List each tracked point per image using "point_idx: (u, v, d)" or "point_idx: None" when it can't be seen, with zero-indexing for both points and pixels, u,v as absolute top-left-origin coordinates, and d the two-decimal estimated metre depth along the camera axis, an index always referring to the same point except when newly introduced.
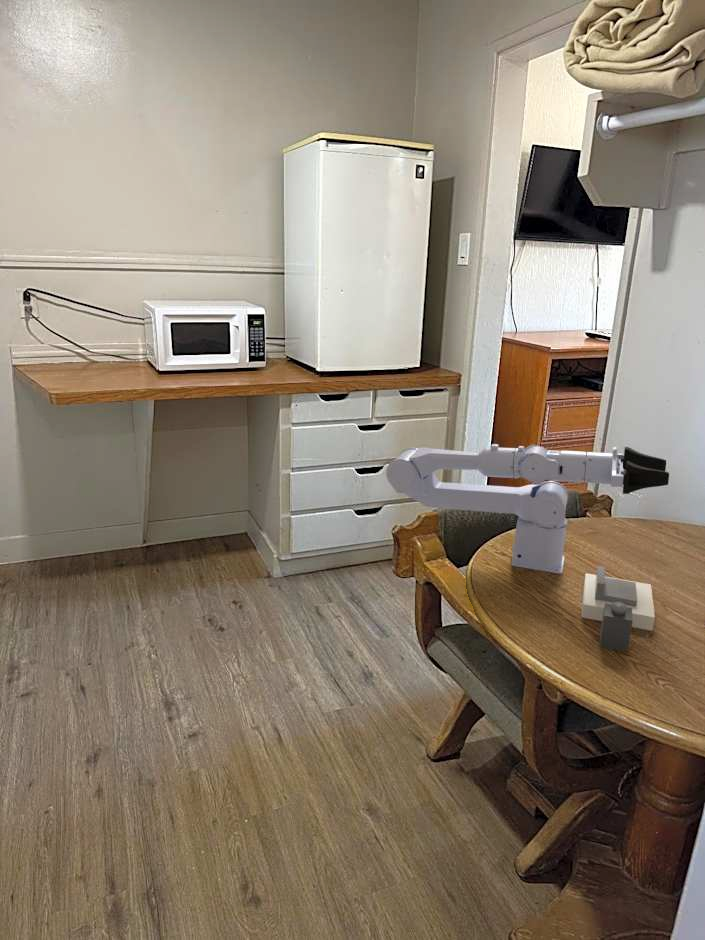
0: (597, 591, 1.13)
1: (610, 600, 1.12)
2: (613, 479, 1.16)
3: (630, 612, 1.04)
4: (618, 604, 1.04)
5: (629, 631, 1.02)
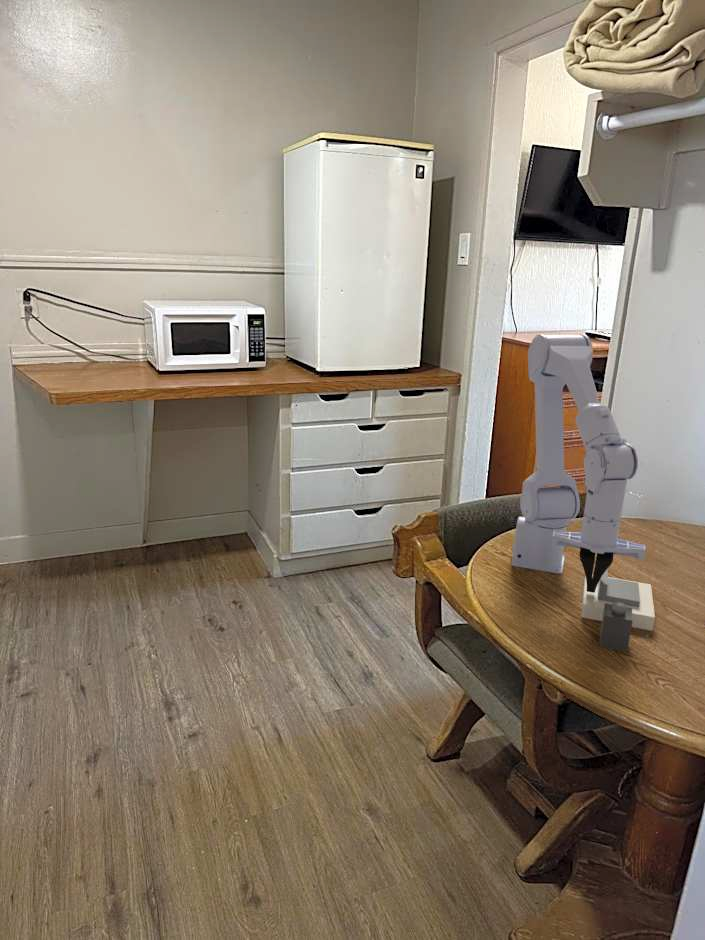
0: (600, 592, 1.13)
1: (613, 601, 1.12)
2: (552, 535, 1.14)
3: (630, 612, 1.04)
4: (618, 604, 1.04)
5: (629, 631, 1.02)
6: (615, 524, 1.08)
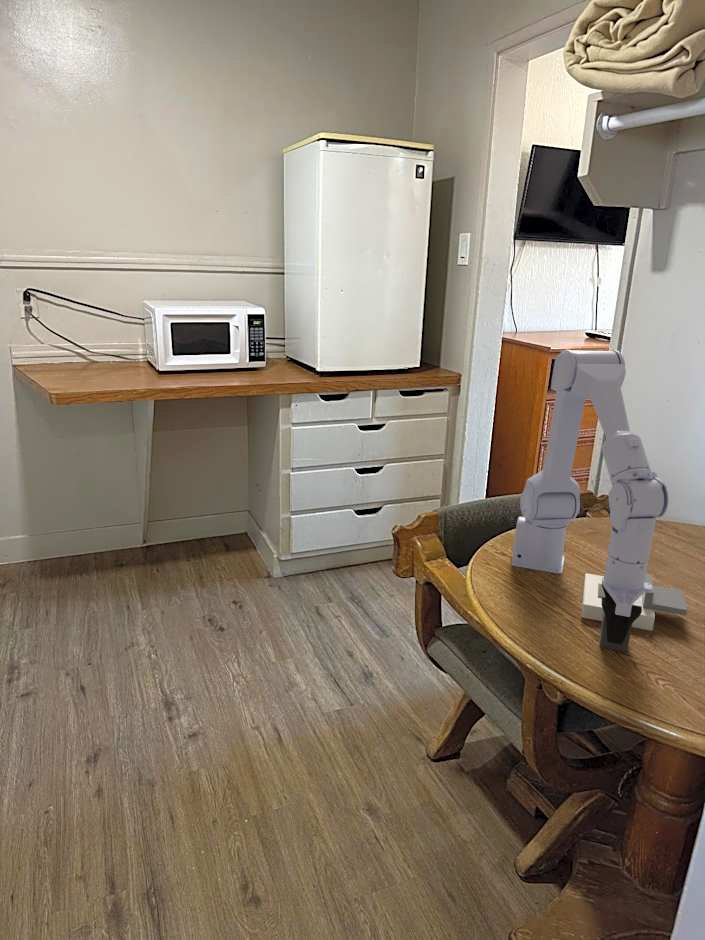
0: (645, 600, 1.10)
1: (659, 609, 1.10)
2: (626, 606, 0.96)
3: None
4: None
5: (629, 631, 1.02)
6: None
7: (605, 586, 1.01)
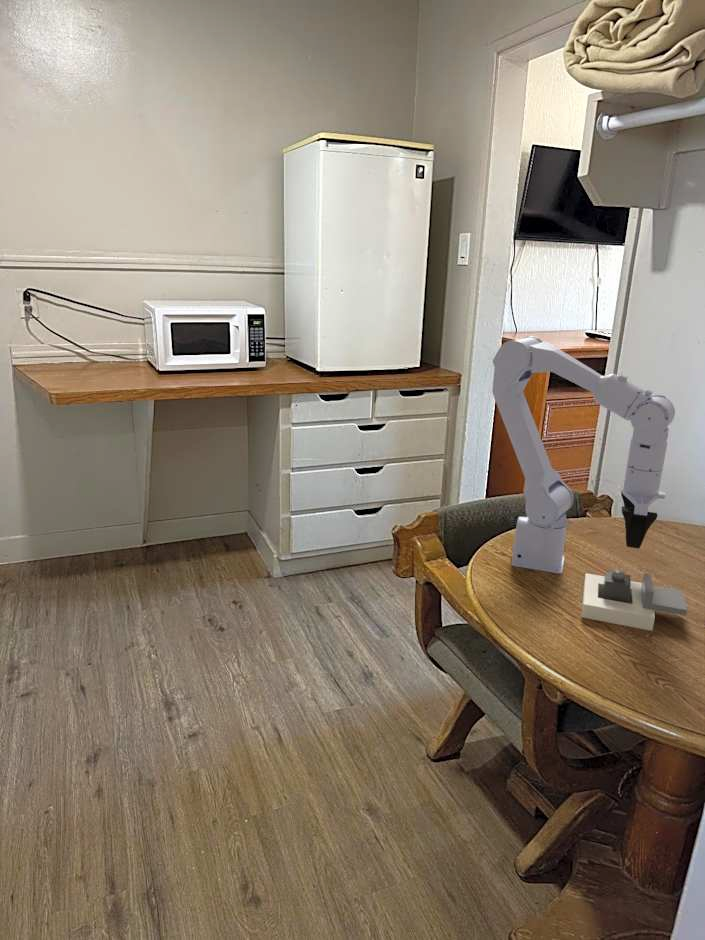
0: (645, 600, 1.10)
1: (659, 609, 1.10)
2: (643, 506, 1.11)
3: (628, 578, 1.14)
4: (617, 571, 1.14)
5: (627, 595, 1.13)
6: None
7: (624, 493, 1.17)
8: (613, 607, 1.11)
